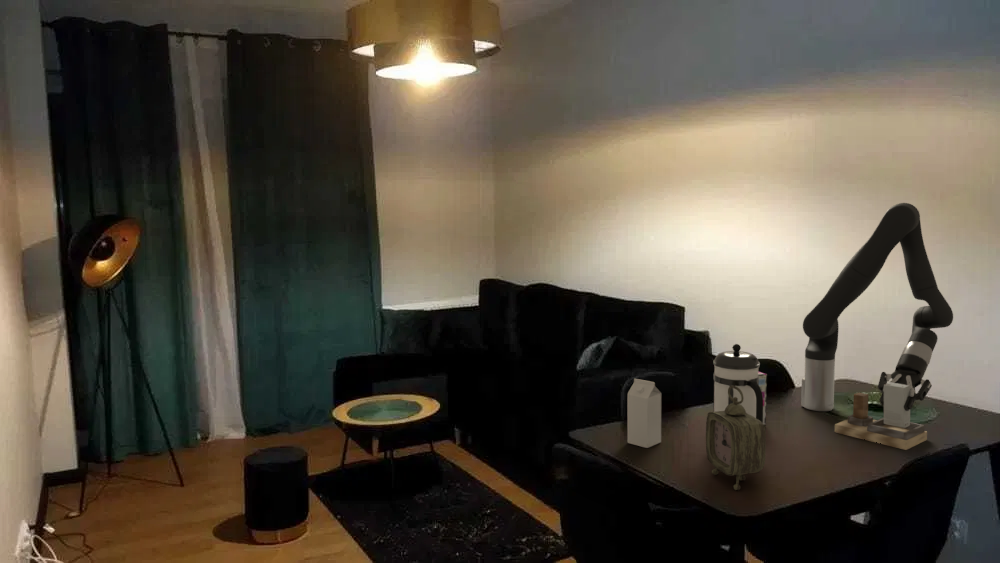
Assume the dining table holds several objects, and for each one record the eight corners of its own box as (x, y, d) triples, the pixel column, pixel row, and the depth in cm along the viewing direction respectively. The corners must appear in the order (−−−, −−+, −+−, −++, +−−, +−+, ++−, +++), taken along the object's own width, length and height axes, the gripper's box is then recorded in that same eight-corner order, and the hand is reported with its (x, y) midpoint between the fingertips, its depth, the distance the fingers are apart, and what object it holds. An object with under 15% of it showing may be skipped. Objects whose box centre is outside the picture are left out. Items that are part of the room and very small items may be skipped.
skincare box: (910, 425, 220) (912, 385, 218) (903, 429, 217) (905, 388, 216) (888, 421, 225) (890, 381, 223) (881, 424, 222) (883, 384, 220)
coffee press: (699, 449, 217) (700, 347, 214) (718, 433, 230) (719, 337, 227) (761, 460, 207) (763, 353, 204) (777, 443, 220) (779, 342, 217)
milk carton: (641, 437, 229) (641, 376, 226) (661, 442, 224) (661, 380, 221) (627, 443, 224) (627, 380, 221) (647, 448, 219) (647, 384, 216)
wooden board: (834, 432, 229) (835, 395, 228) (856, 423, 237) (857, 387, 236) (906, 450, 213) (907, 410, 211) (926, 439, 221) (928, 401, 219)
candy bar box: (766, 425, 238) (768, 374, 236) (753, 426, 236) (754, 375, 234) (746, 415, 248) (746, 366, 246) (732, 416, 247) (733, 367, 245)
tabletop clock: (705, 473, 199) (706, 380, 196) (736, 469, 201) (737, 378, 198) (734, 494, 185) (735, 395, 182) (767, 490, 187) (769, 392, 184)
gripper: (885, 349, 229) (865, 394, 223) (936, 356, 217) (916, 405, 212) (893, 363, 232) (873, 408, 227) (943, 371, 221) (923, 419, 215)
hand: (894, 406), depth 219 cm, fingers closed on skincare box, 6 cm apart
